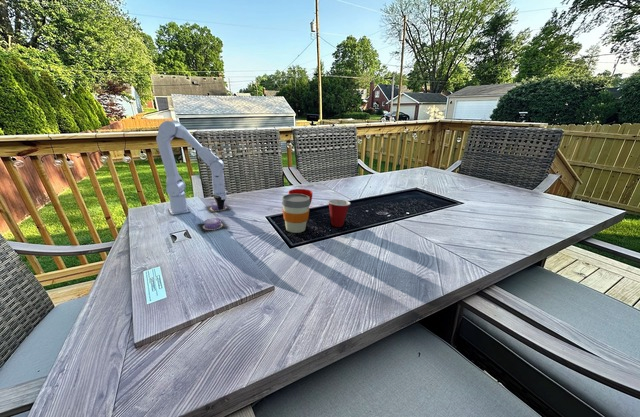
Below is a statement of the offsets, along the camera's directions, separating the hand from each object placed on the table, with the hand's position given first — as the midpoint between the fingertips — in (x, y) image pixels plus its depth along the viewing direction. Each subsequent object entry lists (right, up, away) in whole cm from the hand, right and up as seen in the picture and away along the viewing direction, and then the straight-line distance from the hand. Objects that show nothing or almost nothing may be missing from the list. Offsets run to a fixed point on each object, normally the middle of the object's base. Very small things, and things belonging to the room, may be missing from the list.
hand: (220, 208), depth 136 cm
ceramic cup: (+40, -1, +7) cm, 41 cm away
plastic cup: (+60, -8, -9) cm, 62 cm away
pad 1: (-3, 0, +4) cm, 5 cm away
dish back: (-3, +1, +4) cm, 5 cm away
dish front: (+3, -8, -18) cm, 20 cm away
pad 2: (+3, -8, -18) cm, 20 cm away
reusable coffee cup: (+41, -9, -16) cm, 45 cm away
